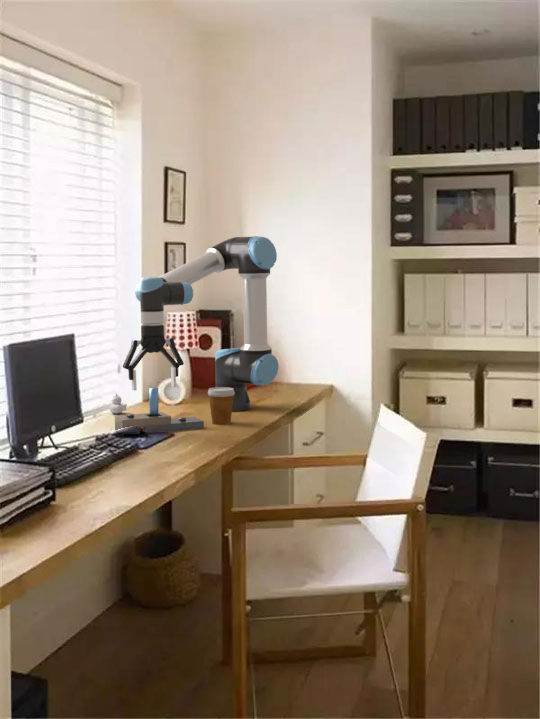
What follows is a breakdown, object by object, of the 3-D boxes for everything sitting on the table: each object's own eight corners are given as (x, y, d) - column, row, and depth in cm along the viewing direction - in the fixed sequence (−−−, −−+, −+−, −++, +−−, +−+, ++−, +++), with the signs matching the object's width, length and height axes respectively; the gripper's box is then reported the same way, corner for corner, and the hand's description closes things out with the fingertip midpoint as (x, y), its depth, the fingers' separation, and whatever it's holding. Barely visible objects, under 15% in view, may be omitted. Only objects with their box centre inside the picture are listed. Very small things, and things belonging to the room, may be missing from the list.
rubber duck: (112, 412, 325) (112, 390, 324) (129, 412, 324) (129, 391, 323) (107, 414, 320) (106, 393, 319) (124, 415, 318) (123, 393, 317)
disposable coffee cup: (239, 421, 306) (239, 387, 304) (229, 426, 297) (228, 391, 295) (214, 420, 309) (213, 386, 307) (203, 424, 300) (203, 390, 298)
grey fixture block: (194, 423, 301) (194, 407, 300) (203, 428, 293) (203, 411, 292) (115, 430, 289) (114, 413, 289) (122, 435, 281) (122, 417, 280)
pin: (157, 428, 292) (156, 387, 291) (159, 430, 290) (159, 388, 288) (148, 429, 291) (147, 388, 289) (151, 431, 288) (150, 389, 287)
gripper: (184, 321, 295) (185, 384, 298) (112, 325, 284) (114, 389, 287) (192, 323, 288) (193, 386, 291) (118, 326, 278) (120, 392, 280)
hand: (154, 388), depth 289 cm, fingers open, 13 cm apart
